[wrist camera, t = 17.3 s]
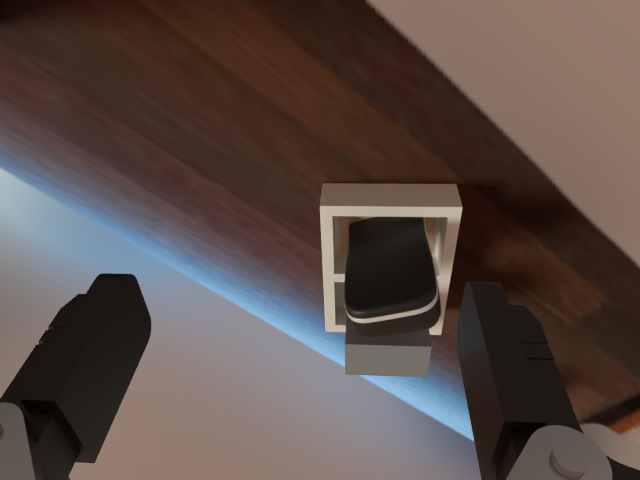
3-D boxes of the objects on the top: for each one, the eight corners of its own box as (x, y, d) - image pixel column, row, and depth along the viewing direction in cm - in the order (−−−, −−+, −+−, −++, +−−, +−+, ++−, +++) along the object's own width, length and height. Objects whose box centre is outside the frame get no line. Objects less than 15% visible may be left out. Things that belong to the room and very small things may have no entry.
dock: (327, 306, 52) (321, 386, 44) (322, 183, 43) (313, 257, 35) (436, 309, 51) (450, 391, 43) (456, 183, 42) (477, 260, 34)
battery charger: (357, 254, 46) (355, 351, 37) (345, 222, 44) (340, 317, 35) (432, 237, 44) (449, 336, 35) (423, 204, 42) (439, 299, 33)
